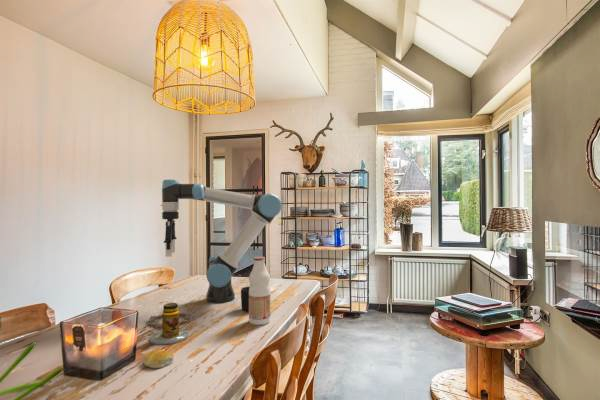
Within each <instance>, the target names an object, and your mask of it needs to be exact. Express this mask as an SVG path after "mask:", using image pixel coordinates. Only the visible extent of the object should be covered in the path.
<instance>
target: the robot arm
mask: <svg viewBox="0 0 600 400" xmlns="http://www.w3.org/2000/svg"><path fill="white" fill-rule="evenodd" d="M161 185H162V186H161V193H162V194H161V197H162V198H161V200H162V201H161V202H162V203H161V204H160V206H161V207H162V208H161V209H162V212H161V218H162V220H166V221H165V237H164V238H165V239H164V241H163V243H165V258H166V257H173V253H176V240H177V236H176V227H175V226H176V223H175V222H176V220H179V217H180V216H179V215H180V213H179V210H180V209H179V207H180V205H179V200H195V201H201V202H208V203H213V204H214V203H215V204H220V205H224V206H230V207H238V208H242V209H248V210H250V211H251V216H249V218H248V220H247V221H246V222H245V223H244V225H243V227H242V228H241V229H240V230H239V232H238V233H237V234H236V236H235V237H234V238H233V240H232V241H231V242H230V244H229V245H228V247H227V248H226V250H225V251H224V252H223V253H219V254H218V255H217V256H211V257H209V259H208V265H209V266H208V268H207V270H206V274H205V275H206V279H207V281H208V284H209V286H208V289H207V291H206V295H205V301H206V302H207V303H211V304H212V303H213V304H221V303H223V304H224V303H228V302H231V301H234V300H235V298H236V297H235V296H236V294H235V291H234V287H233V283H232V277H233V275H234V274H235V272H236V271H237V270H238V269H239V267H238V266H239V265H238V263H239V262H240V261H241V259H242V258H243V256H244V255H245V254H246V252H247V251H248V249H249V248H250V246H251V245H252V244H253V242H255V240H256V239H257V237H258V236H259V234H260V233H261V232H262V230H263V229H264V227H265V226H266V225H270V224H271V223H272V222H273V220H274V218H275V217H276V216H278V215H279V214H280V212H281V210H282V201H281V199H280V198H279V196H277V195H275V194H274V193H269V192H268V193H265V194H256V193H254V194H248V193H247V194H246V193H242V192H241V193H240V192H237V191H236V192H235V191H230V190H229V191H228V190H224V189H219V188H218V189H217V188H213V187H209V186H207V187H206V186H204V184H202V183H180V182H179V180H178V179H171V178H169V179H167V178H166V179H164V180H163V181H162V184H161Z"/></svg>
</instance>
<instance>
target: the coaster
mask: <svg viewBox="0 0 600 400" xmlns="http://www.w3.org/2000/svg"><path fill="white" fill-rule="evenodd" d="M179 332H184V333H182V334H181V335H180V336H178V337H177V338H175V339H173V340H171V339H161V338H154V337H156V336H157V335H159V334H161V333H162V330H160V331H159V330H158V331H157V332H155V333H153V334H151V335H150V337H149V343H151V344H153V345H159V346H165V345H174V344H177V343H180V342H182V341H183V342H184V341H185V340H186V339H188V337H189V331H187V330H186V329H182V328H179Z"/></svg>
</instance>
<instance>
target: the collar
mask: <svg viewBox="0 0 600 400" xmlns="http://www.w3.org/2000/svg"><path fill="white" fill-rule="evenodd" d="M181 316H182V318H184V319H182V320H179V327H180V326H183V325H186V324H187V323H191V318H192V313H191V312H189V313H187V312H180V311H179V317H181ZM160 319H161V320H162V313H161V314H159V315H151V316H150V317H149V318H148V319H147V321H148V322H147V323H148V326H149V327H153V328H156V329H162V323H159V322H156V321H158V320H160Z"/></svg>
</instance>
